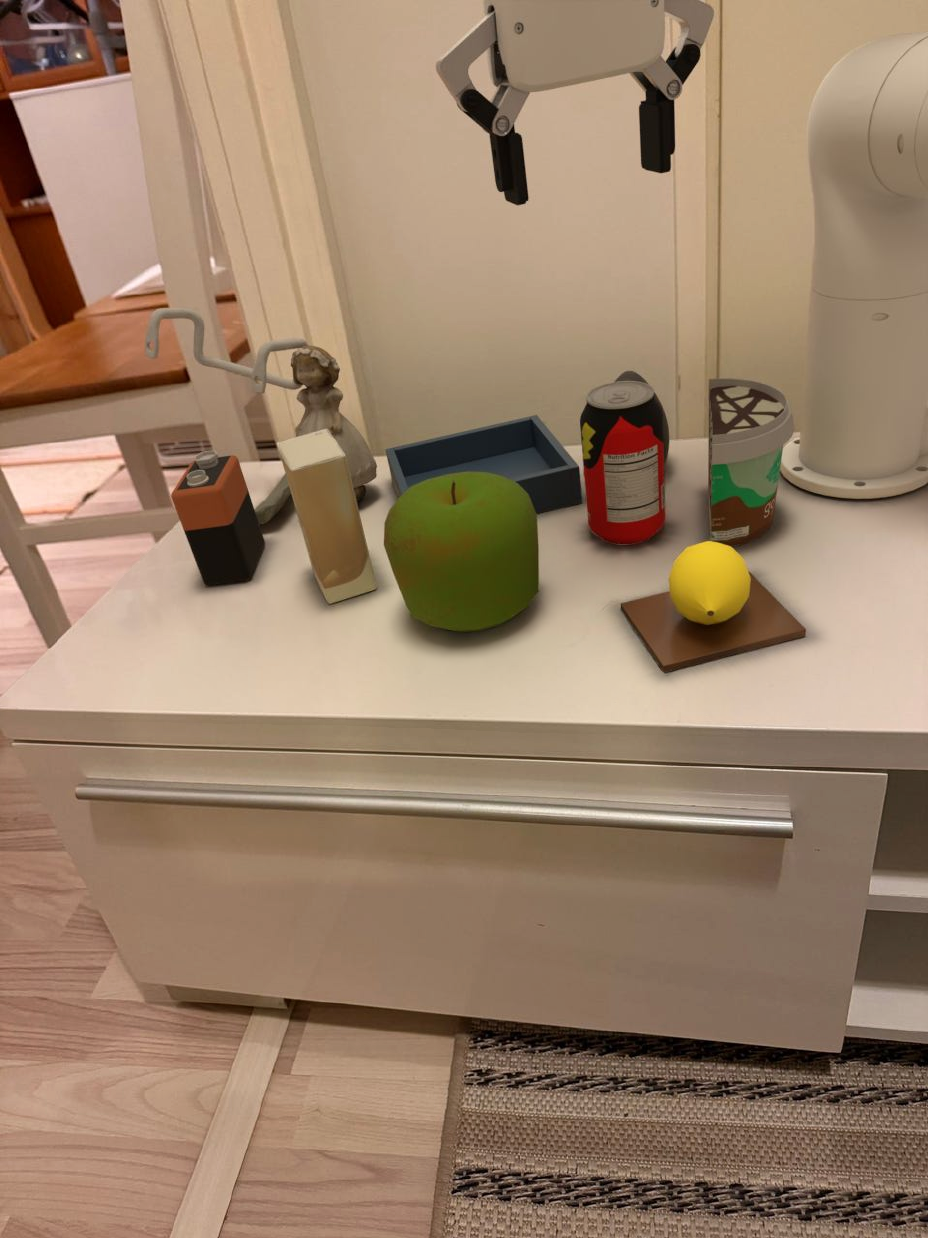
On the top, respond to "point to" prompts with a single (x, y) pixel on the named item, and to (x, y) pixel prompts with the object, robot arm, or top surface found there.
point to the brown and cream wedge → (744, 457)
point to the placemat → (709, 628)
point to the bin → (495, 461)
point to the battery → (218, 518)
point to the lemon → (709, 583)
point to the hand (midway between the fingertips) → (586, 186)
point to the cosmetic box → (328, 514)
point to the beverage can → (623, 462)
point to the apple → (464, 550)
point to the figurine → (330, 412)
